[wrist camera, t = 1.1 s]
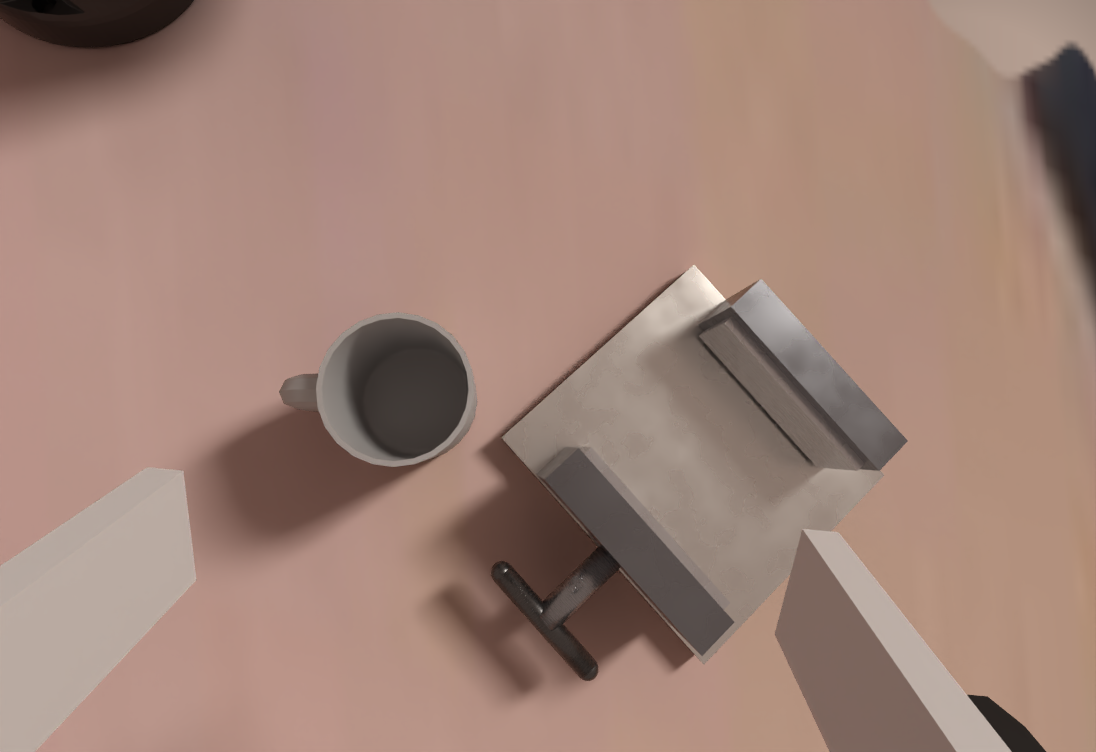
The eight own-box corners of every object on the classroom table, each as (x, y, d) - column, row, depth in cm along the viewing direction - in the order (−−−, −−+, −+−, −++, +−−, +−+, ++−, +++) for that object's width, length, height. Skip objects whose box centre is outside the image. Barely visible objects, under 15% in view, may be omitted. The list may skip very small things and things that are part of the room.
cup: (476, 460, 36) (472, 467, 27) (308, 460, 35) (247, 466, 26) (478, 344, 37) (475, 314, 28) (314, 341, 36) (257, 308, 27)
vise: (432, 498, 35) (420, 511, 29) (685, 271, 38) (726, 237, 32) (631, 722, 35) (663, 785, 29) (868, 474, 38) (945, 480, 32)
